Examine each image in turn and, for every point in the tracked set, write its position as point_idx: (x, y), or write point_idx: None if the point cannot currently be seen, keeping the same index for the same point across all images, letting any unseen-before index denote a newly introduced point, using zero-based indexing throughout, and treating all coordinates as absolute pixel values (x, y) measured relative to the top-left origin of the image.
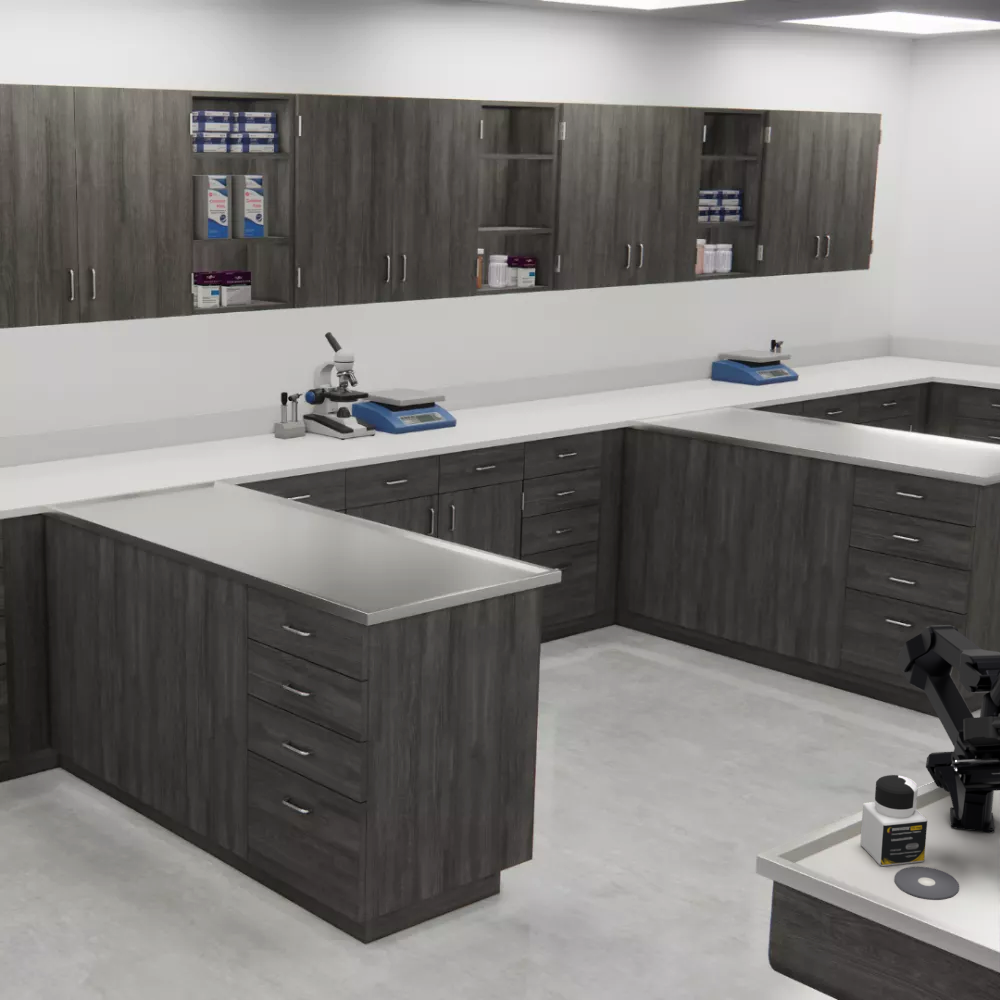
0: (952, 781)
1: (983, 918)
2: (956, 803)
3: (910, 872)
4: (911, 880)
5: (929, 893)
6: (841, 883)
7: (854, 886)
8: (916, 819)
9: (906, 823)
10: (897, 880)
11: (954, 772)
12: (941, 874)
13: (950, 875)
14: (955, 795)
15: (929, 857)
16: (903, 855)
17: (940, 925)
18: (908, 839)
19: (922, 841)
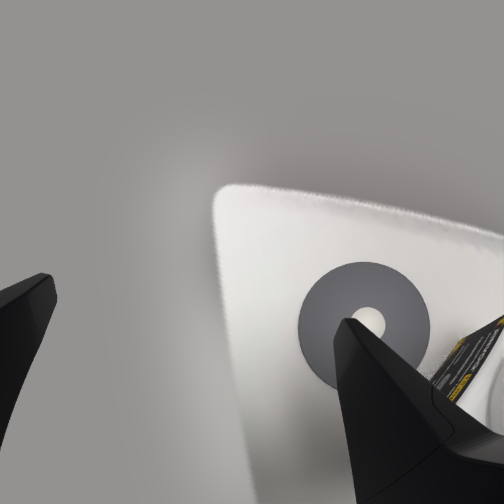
0: (467, 444)
1: (231, 253)
2: (377, 349)
3: (408, 345)
4: (395, 312)
5: (346, 280)
6: (476, 242)
7: (459, 243)
8: (473, 389)
9: (485, 360)
10: (416, 296)
11: (495, 483)
12: None
13: (329, 382)
14: (404, 382)
15: None
16: (442, 373)
17: (294, 198)
18: (455, 375)
19: None
